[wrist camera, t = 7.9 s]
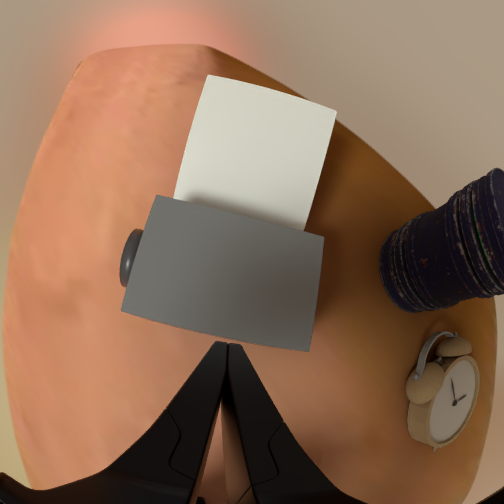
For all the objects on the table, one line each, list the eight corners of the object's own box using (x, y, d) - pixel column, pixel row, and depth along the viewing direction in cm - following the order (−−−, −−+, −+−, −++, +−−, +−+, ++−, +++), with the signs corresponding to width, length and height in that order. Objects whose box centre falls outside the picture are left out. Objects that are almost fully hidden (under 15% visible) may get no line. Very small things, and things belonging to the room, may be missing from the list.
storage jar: (365, 237, 27) (474, 165, 13) (420, 222, 30) (509, 166, 16) (395, 328, 25) (522, 306, 11) (445, 297, 27) (545, 266, 13)
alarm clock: (431, 466, 18) (421, 374, 18) (405, 453, 23) (385, 364, 23) (482, 405, 21) (477, 309, 22) (456, 398, 26) (445, 309, 26)
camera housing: (281, 348, 22) (309, 351, 17) (126, 313, 21) (103, 305, 15) (296, 259, 25) (324, 237, 19) (152, 224, 23) (140, 191, 18)
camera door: (297, 250, 23) (337, 111, 20) (169, 218, 22) (207, 74, 19) (293, 244, 25) (330, 114, 22) (173, 215, 24) (209, 81, 20)
